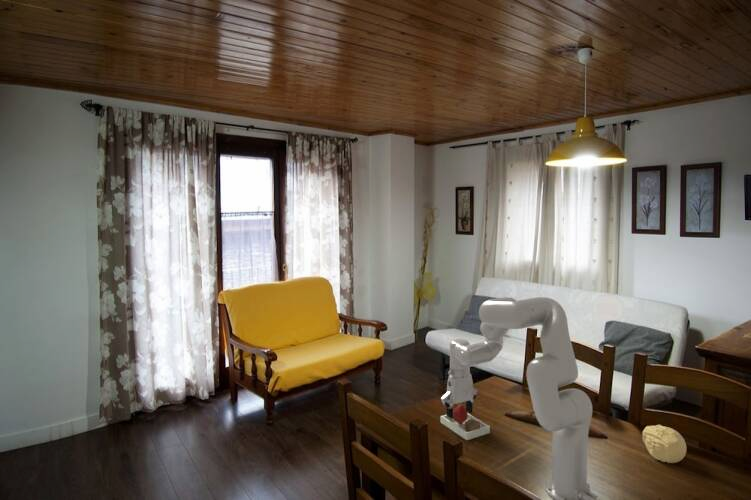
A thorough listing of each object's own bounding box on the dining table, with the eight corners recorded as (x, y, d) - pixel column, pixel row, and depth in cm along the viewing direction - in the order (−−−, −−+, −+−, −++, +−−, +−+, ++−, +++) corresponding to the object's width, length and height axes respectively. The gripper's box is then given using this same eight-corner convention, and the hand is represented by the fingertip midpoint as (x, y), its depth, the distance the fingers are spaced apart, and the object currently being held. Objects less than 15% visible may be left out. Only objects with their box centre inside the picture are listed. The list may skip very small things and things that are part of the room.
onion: (450, 425, 176) (450, 404, 176) (454, 420, 181) (455, 400, 181) (465, 428, 173) (465, 407, 173) (469, 423, 178) (469, 402, 178)
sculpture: (636, 452, 157) (637, 422, 156) (661, 446, 161) (662, 416, 160) (667, 470, 146) (669, 438, 145) (693, 462, 150) (695, 431, 149)
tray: (489, 434, 170) (489, 426, 170) (466, 442, 165) (466, 433, 165) (462, 417, 184) (462, 409, 184) (440, 424, 179) (440, 416, 179)
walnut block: (479, 432, 170) (480, 422, 170) (473, 436, 168) (473, 425, 168) (471, 428, 174) (471, 418, 173) (464, 432, 171) (464, 421, 171)
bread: (502, 418, 184) (502, 406, 184) (505, 413, 188) (505, 402, 188) (607, 442, 165) (607, 429, 164) (608, 436, 169) (608, 423, 168)
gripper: (447, 379, 168) (447, 423, 170) (483, 370, 176) (483, 413, 178) (435, 372, 175) (435, 415, 176) (470, 364, 183) (470, 406, 184)
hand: (459, 414), depth 177 cm, fingers open, 9 cm apart
